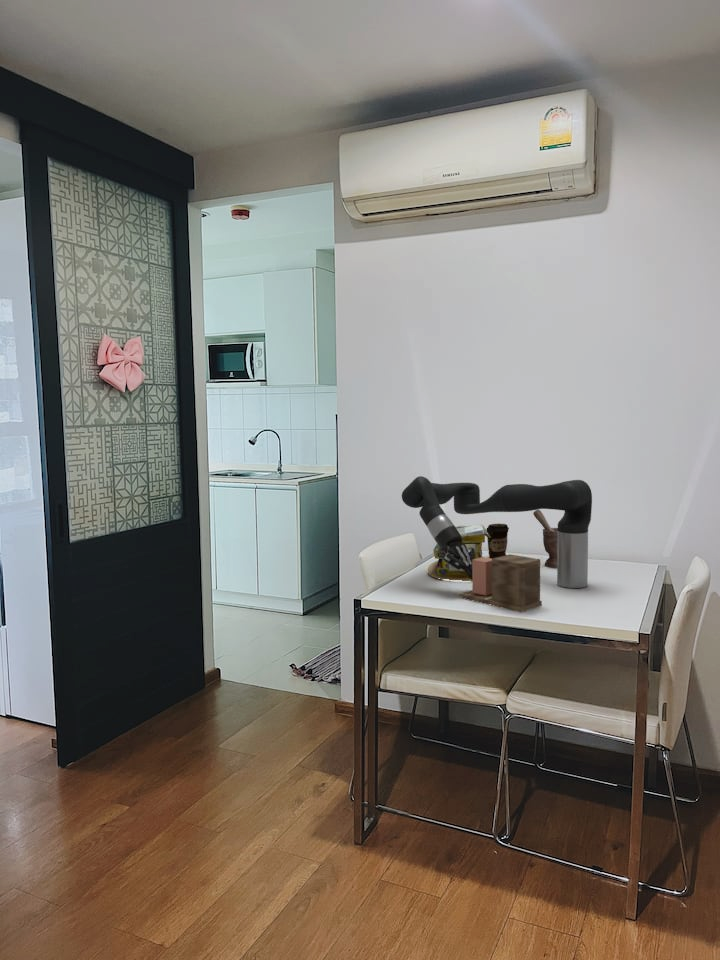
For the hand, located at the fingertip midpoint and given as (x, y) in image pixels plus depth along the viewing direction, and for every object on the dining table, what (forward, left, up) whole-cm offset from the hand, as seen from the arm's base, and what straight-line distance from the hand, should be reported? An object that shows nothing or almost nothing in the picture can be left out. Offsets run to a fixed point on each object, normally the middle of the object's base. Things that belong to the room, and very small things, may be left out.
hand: (474, 577), depth 219 cm
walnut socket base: (+5, +6, -6) cm, 10 cm away
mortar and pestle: (-41, +31, -6) cm, 52 cm away
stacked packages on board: (-29, -1, -6) cm, 30 cm away
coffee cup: (-53, +14, -6) cm, 55 cm away
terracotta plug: (+2, +3, -4) cm, 5 cm away
